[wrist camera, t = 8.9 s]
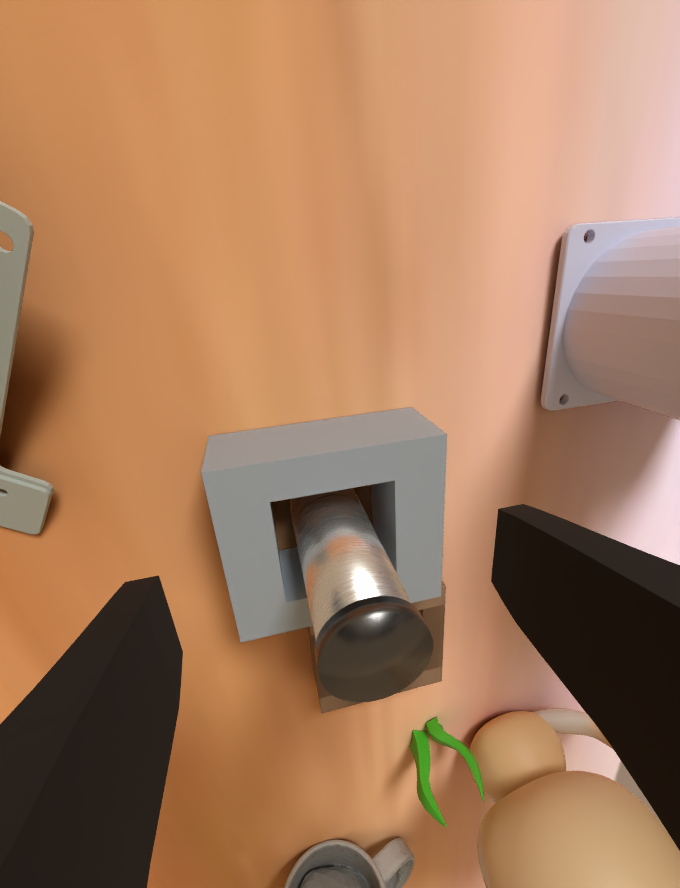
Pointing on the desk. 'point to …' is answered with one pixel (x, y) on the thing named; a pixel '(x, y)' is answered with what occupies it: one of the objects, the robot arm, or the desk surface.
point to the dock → (313, 472)
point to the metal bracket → (3, 297)
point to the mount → (434, 620)
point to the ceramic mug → (352, 866)
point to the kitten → (552, 809)
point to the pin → (356, 601)
